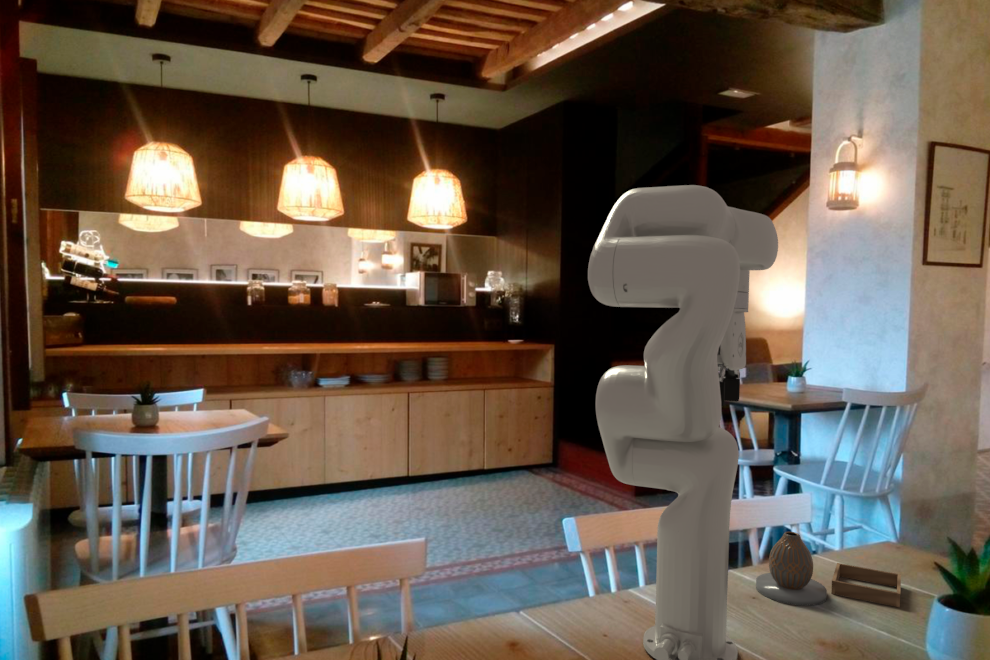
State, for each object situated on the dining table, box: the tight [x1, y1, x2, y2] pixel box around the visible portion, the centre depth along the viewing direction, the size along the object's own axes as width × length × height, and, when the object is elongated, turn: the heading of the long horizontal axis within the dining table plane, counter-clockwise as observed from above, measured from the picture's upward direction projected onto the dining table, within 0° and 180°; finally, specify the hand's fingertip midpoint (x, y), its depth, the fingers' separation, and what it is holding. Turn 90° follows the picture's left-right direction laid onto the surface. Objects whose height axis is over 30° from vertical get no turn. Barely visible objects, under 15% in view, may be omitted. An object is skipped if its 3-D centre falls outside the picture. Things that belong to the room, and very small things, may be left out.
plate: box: [755, 572, 828, 607], centre depth 119 cm, size 11×11×1 cm
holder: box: [830, 562, 902, 608], centre depth 120 cm, size 10×10×2 cm
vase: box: [768, 531, 814, 589], centre depth 118 cm, size 7×7×9 cm
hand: (722, 403), depth 121 cm, fingers open, 9 cm apart
